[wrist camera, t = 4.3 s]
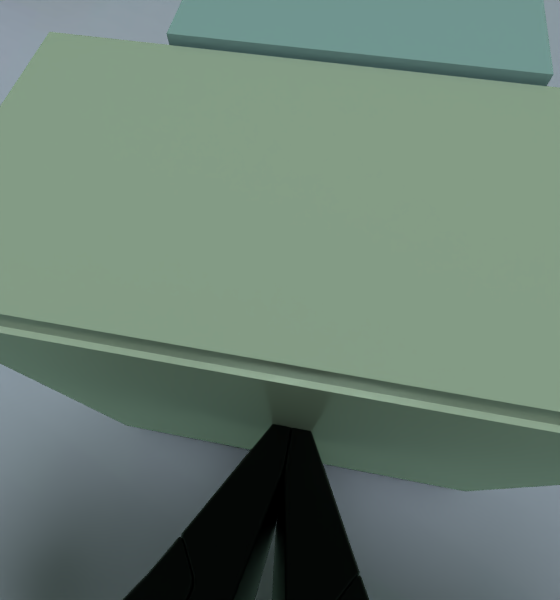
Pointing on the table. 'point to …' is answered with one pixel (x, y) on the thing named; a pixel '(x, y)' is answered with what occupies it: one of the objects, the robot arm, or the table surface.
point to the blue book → (380, 34)
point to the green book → (289, 254)
